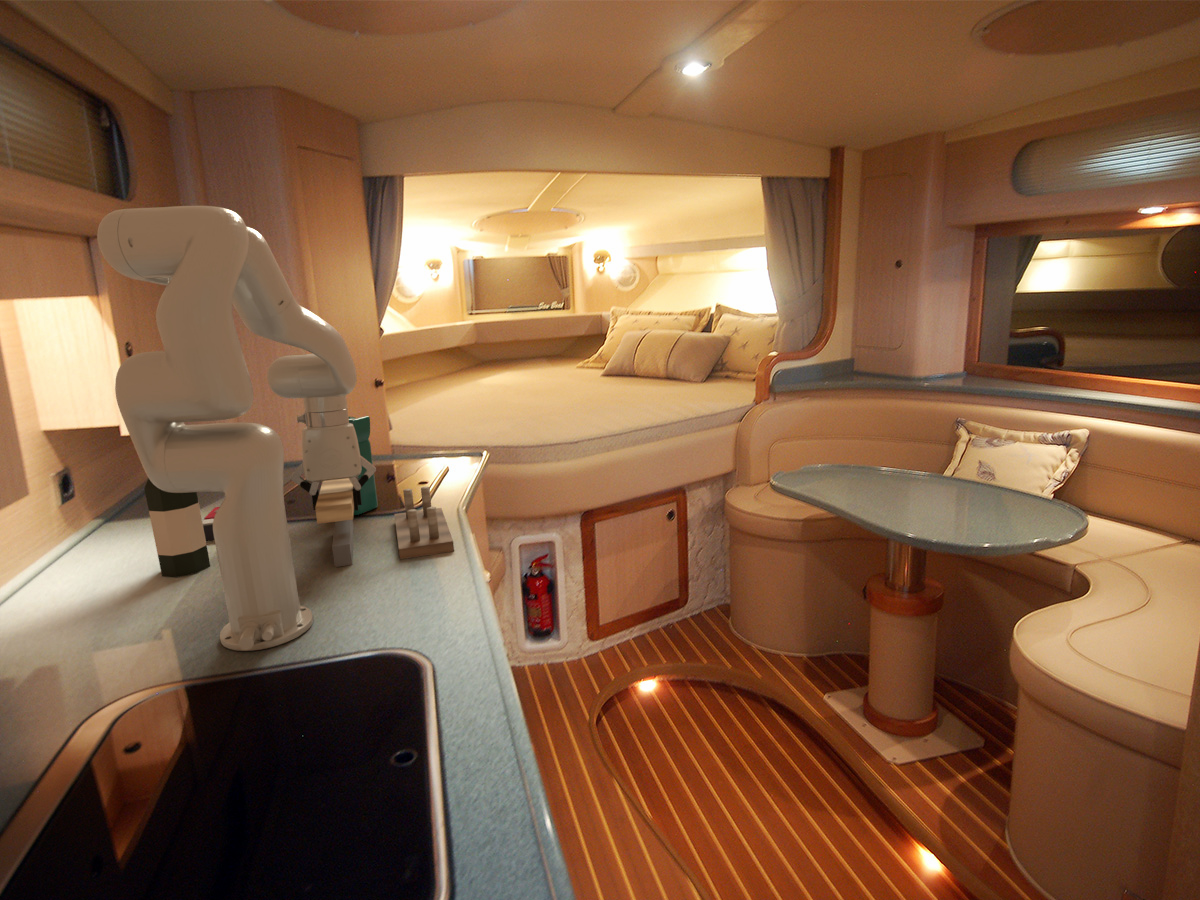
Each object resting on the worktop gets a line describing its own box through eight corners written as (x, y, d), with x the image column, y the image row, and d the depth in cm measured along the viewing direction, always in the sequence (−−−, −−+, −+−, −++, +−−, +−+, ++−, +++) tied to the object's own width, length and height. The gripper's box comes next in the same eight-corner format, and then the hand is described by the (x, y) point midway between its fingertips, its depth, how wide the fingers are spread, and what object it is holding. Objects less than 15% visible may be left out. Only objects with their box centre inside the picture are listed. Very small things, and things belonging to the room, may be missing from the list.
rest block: (352, 564, 126) (349, 544, 125) (334, 567, 125) (332, 546, 124) (353, 529, 144) (351, 512, 144) (338, 532, 144) (336, 514, 143)
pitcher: (327, 513, 156) (314, 419, 151) (354, 502, 163) (343, 412, 158) (359, 518, 152) (347, 421, 147) (386, 507, 159) (375, 414, 154)
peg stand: (454, 550, 131) (450, 511, 129) (400, 559, 128) (395, 518, 126) (442, 516, 151) (438, 481, 149) (395, 522, 148) (391, 487, 146)
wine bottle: (151, 579, 123) (117, 415, 116) (172, 561, 131) (141, 407, 124) (201, 575, 124) (170, 412, 117) (218, 557, 132) (191, 404, 125)
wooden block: (353, 519, 123) (351, 503, 122) (317, 523, 121) (315, 507, 120) (355, 490, 143) (353, 476, 143) (324, 494, 141) (323, 479, 141)
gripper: (275, 426, 122) (288, 522, 126) (375, 418, 128) (385, 510, 131) (280, 420, 129) (292, 511, 133) (375, 412, 135) (384, 500, 138)
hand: (338, 510), depth 132 cm, fingers closed on wooden block, 6 cm apart
